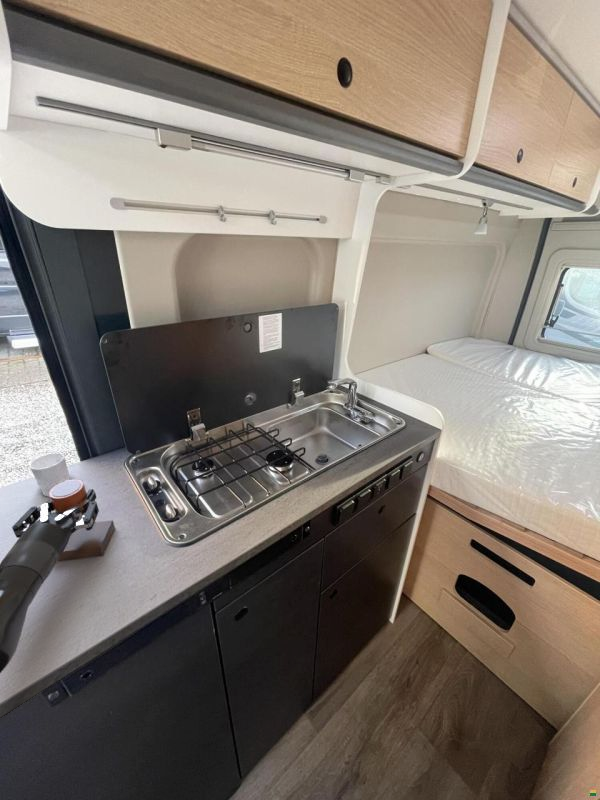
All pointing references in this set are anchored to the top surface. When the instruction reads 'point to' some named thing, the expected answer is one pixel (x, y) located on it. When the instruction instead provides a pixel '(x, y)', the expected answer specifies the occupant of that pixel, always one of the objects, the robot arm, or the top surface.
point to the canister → (67, 495)
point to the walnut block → (88, 542)
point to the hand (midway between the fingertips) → (75, 493)
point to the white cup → (49, 471)
